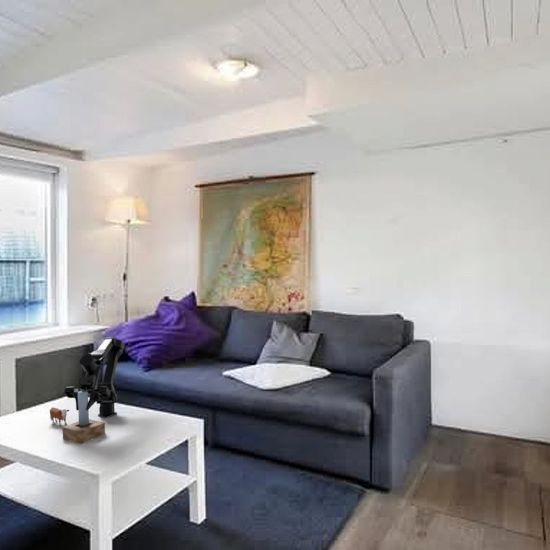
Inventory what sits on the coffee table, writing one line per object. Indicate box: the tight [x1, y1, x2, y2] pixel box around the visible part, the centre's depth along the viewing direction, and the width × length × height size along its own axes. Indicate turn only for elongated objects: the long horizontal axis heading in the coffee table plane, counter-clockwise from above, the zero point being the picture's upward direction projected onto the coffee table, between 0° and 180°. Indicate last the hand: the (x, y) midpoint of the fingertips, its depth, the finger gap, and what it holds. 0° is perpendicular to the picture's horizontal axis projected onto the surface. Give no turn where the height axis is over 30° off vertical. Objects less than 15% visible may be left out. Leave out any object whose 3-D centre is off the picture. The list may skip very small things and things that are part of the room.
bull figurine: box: [49, 406, 70, 427], centre depth 214 cm, size 4×13×8 cm, turn 53°
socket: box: [62, 418, 106, 445], centre depth 198 cm, size 12×12×5 cm
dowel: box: [77, 391, 90, 426], centre depth 198 cm, size 4×4×14 cm
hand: (82, 409), depth 197 cm, fingers closed on dowel, 4 cm apart
